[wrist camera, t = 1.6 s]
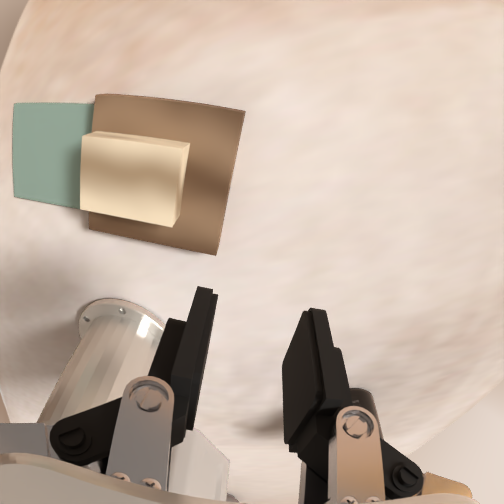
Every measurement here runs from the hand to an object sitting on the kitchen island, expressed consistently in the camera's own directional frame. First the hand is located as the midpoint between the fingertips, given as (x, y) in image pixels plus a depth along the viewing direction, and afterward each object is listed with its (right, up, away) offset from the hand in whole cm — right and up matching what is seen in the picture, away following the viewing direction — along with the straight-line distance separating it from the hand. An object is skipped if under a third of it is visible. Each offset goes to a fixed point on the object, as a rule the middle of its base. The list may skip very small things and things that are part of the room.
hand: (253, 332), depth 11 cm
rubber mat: (-19, +12, +14) cm, 26 cm away
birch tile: (-9, +9, +13) cm, 18 cm away
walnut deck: (-8, +10, +15) cm, 19 cm away
